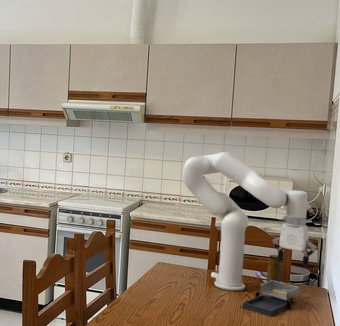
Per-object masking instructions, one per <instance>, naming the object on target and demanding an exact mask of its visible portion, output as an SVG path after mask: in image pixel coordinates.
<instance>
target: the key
mask: <svg viewBox="0 0 340 326" xmlns="http://www.w3.org/2000/svg"><path fill="white" fill-rule="evenodd" d="M278 290H279V289H278ZM278 290H273V292H276V293H281V294H285V295H287V293H285V292H281V291H278Z"/></svg>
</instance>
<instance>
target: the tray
mask: <svg viewBox="0 0 340 326" xmlns="http://www.w3.org/2000/svg"><path fill="white" fill-rule="evenodd" d="M287 303H288V302H285V301H281V300H278V299H274V298H271V297H270V296H267V295H263V294H260V295H259V296H257V297H255V296H254V297H253V298H251V299H248V300H246V301H243V302H242V308H243V309H246V310H250V311H253V312H257V313H259V314H263V315H267V316H269V317H273V316H275V315H277V314H278V313H281V312H282V311H285V310H287Z"/></svg>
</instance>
